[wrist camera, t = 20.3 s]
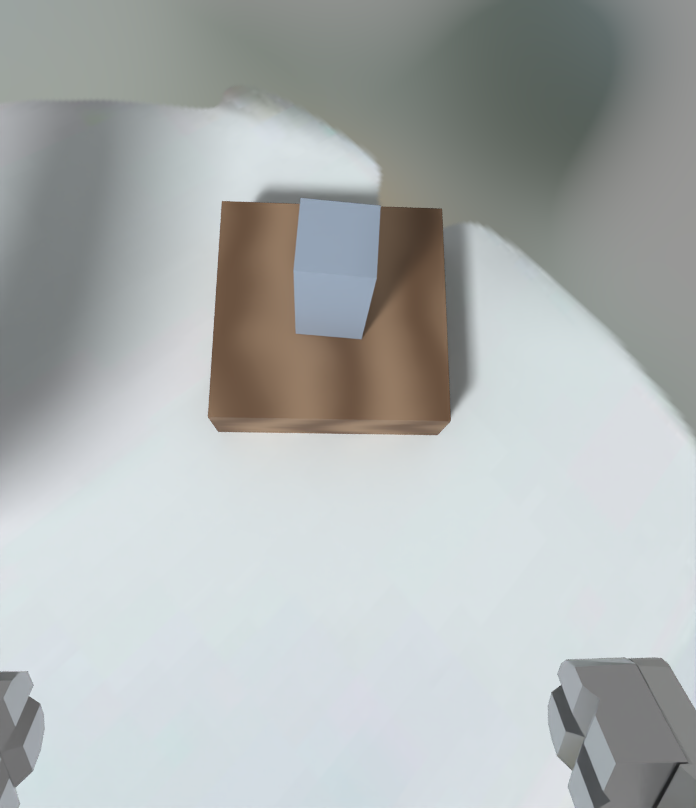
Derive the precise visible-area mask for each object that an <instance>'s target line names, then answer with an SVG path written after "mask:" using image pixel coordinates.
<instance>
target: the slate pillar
mask: <svg viewBox="0 0 696 808" xmlns="http://www.w3.org/2000/svg"><path fill="white" fill-rule="evenodd" d="M380 208H381V206H379V205H369V204H359V203H348V202H338V201H327V200H317V199H306V198H300V208H299V218H298V229H297V239H296V250H295V260H294V270H293V272H294V300H295V329H296V334H305V335H317V336H328V337H340V338H352V339H362V335H363V331H364V327H365V323H366V319H367V315H368V311H369V307H370V303H371V299H372V295H373V291H374V287H375V283H376V279H377V263H378V245H379V226H380Z"/></svg>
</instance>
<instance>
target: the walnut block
mask: <svg viewBox="0 0 696 808" xmlns="http://www.w3.org/2000/svg"><path fill="white" fill-rule="evenodd" d="M299 208H300V204H289V203H260V202H230V201H222V208H221V223H220V239H219V254H218V270H217V285H216V301H215V316H214V331H213V347H212V362H211V378H210V393H209V408H208V418H209V419H210V421H211V422H212V424H213V425H214V426H215V428H216V429H217V430H218V432H265V433H332V434H398V435H438V434H439V433H440V432H441V431H442V430H443V429H444V428H445V427H446V426H447V424H448V423H449V422H450V421H451V415H450V391H449V366H448V342H447V317H446V293H445V269H444V244H443V220H442V209H436V208H435V209H434V208H407V207H405V208H404V207H381V208H380V226H379V245H378V263H377V279H376V283H375V287H374V291H373V295H372V299H371V303H370V307H369V311H368V315H367V319H366V323H365V327H364V331H363V335H362V339H352V338H340V337H328V336H317V335H305V334H296V329H295V300H294V272H293V270H294V260H295V250H296V239H297V229H298V218H299Z"/></svg>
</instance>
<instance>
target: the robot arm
mask: <svg viewBox="0 0 696 808" xmlns="http://www.w3.org/2000/svg"><path fill="white" fill-rule="evenodd" d="M557 675H558V677H559V680H560V683H561V686H559V687H558V688H557V689H555V690H554V691H553V692H551V696H550V700H549V704H548V725H549V729H550V734H551V739H552V742H553V745H554V748H555V751H556V754H557V756H558V757H559V758H560V759H561V760H562V761H563V762H564V763H565V764H566V765H567V766H568V767H569V768H570V769H571V770H572V773H571V777H570V780H569V783H568V789H569V792H570V795H571V798H572V800H573V803H574V806H575V808H696V710H695V708H694V706H693V705H692V703H691V701H690V700H689V698H688V696H687V695H686V693H685V691H684V690H683V688H682V686H681V684H680V683H679V681H678V679H677V678H676V676H675V674H674V673H673V671H672V669H671V667H670V666H669V664H668V663H667V662H665V661H664V660H663V659H662V658H656V657H652V658H629V659H627V658H625V657H622V658H595V659H568V660H565V661H564V662H562V663H561V665H560V668H559V671H558V674H557ZM33 686H34V685H33V682H32V680H31V678H30V675H29V673H28V671H0V808H19V805H20V802H19V798H18V795H17V791H16V787H17V786H18V785H19V784H20V783H21V782H22V781H23V780H24V779H25V778H26V777H27V776H28V775H29V774H30V773H31V772H32V771H33V770H34V767H35V764H36V761H37V759H38V756H39V753H40V751H41V746H42V740H43V735H44V729H45V727H44V713H43V710H42V707H41V704H40V703H38V702H37V701H35V700H34V699H32V698H31V697H29V695H30V692H31V690H32V688H33Z"/></svg>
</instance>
